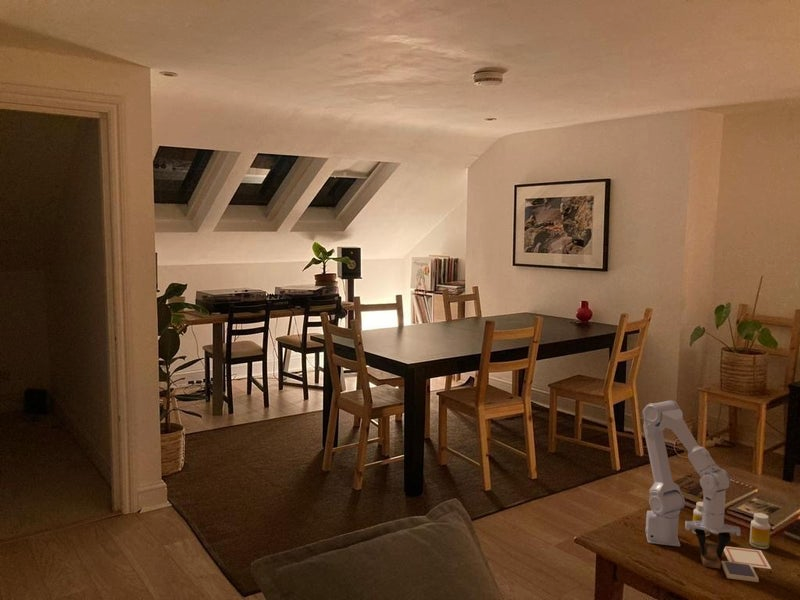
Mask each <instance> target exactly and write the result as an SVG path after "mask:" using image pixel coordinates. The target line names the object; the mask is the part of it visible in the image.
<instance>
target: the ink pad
mask: <svg viewBox="0 0 800 600" xmlns="http://www.w3.org/2000/svg"><path fill="white" fill-rule="evenodd" d="M720 562H721V565H720V566H721V567H722V569H723V571H724V574H725V576H726V579H731V580H740V581H746V582H754V583H759V579H760V578H759V577H758V574H757V572H756V571H755V568H754V567H752V565H751V564H744V563H736V562H729V561H728V560H720Z"/></svg>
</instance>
